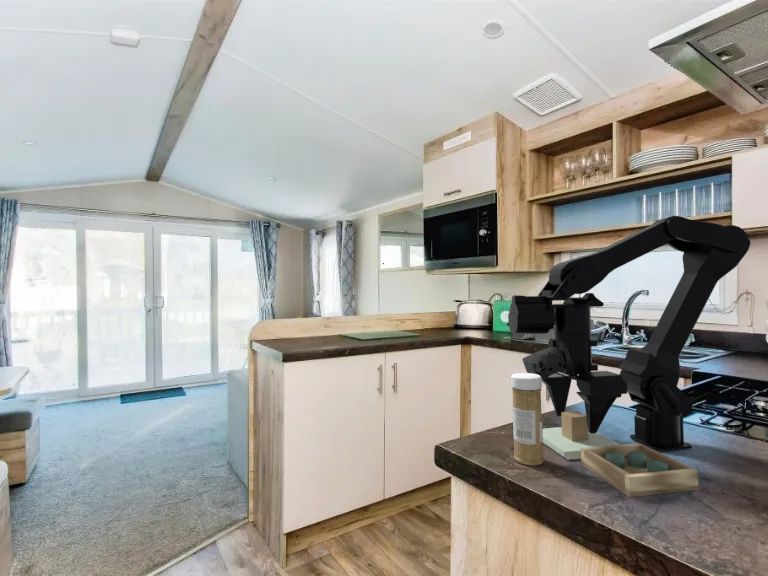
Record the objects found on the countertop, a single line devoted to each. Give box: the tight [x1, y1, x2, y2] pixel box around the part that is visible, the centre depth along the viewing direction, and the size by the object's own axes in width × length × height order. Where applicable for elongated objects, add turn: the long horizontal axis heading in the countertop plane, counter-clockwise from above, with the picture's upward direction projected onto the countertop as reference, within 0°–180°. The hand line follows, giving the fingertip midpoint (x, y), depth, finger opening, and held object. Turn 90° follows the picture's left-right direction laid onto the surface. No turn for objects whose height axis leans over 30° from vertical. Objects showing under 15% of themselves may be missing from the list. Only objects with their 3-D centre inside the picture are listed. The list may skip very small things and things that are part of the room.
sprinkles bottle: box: [510, 372, 545, 466], centre depth 64 cm, size 5×5×13 cm
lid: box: [543, 410, 622, 458], centre depth 70 cm, size 11×11×5 cm
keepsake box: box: [580, 442, 699, 498], centre depth 58 cm, size 10×10×2 cm
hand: (575, 424), depth 70 cm, fingers open, 9 cm apart
